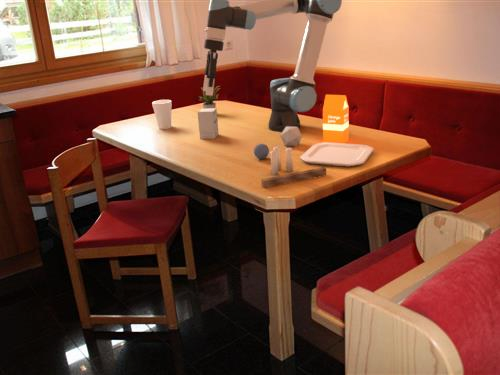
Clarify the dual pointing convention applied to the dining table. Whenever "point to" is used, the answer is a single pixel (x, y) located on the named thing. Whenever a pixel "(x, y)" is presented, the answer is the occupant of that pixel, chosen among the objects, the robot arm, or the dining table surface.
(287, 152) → the pin
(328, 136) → the orange juice
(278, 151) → the front pin
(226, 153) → the dining table surface
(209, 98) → the house plant
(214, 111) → the supplement box
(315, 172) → the board
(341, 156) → the plate
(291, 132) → the die
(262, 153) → the ball
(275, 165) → the pin
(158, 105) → the foam cup
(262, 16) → the robot arm
